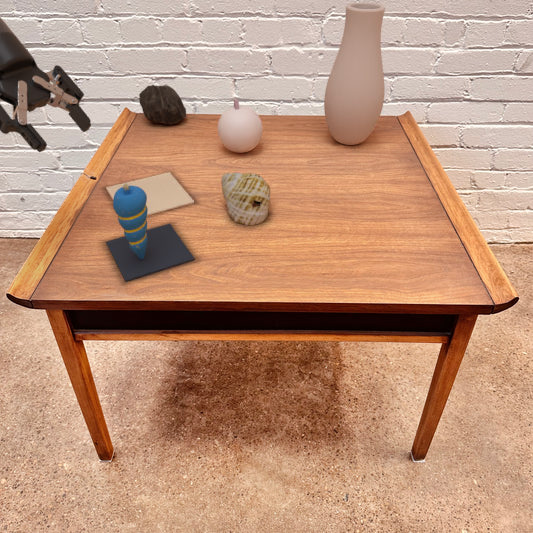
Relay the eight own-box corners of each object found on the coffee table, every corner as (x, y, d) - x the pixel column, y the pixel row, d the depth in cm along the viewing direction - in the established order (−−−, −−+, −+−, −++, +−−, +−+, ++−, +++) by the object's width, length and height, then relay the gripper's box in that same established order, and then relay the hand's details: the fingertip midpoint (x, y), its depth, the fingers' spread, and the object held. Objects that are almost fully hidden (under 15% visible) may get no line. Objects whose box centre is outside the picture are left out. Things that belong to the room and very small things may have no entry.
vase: (374, 130, 124) (395, 0, 105) (378, 154, 113) (402, 14, 94) (321, 127, 125) (332, -2, 106) (320, 151, 114) (332, 11, 95)
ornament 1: (160, 251, 83) (147, 173, 73) (152, 270, 79) (137, 190, 69) (131, 249, 83) (114, 171, 74) (121, 267, 79) (102, 188, 70)
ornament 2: (211, 147, 115) (207, 98, 108) (246, 137, 120) (245, 89, 112) (234, 164, 109) (233, 112, 101) (270, 152, 114) (271, 102, 106)
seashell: (265, 227, 88) (240, 180, 84) (226, 235, 94) (201, 191, 89) (287, 199, 95) (265, 154, 90) (249, 207, 101) (227, 165, 96)
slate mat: (125, 282, 77) (125, 280, 77) (106, 243, 85) (105, 241, 85) (194, 260, 82) (194, 258, 81) (170, 225, 90) (169, 223, 90)
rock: (189, 124, 124) (179, 84, 118) (146, 133, 123) (134, 94, 117) (187, 113, 132) (177, 75, 126) (146, 122, 131) (135, 84, 126)
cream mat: (125, 221, 90) (125, 220, 90) (106, 188, 100) (105, 187, 100) (194, 203, 96) (194, 201, 96) (169, 173, 105) (169, 171, 105)
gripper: (-50, 42, 63) (34, 143, 66) (39, 20, 73) (109, 110, 75) (-57, 76, 69) (21, 168, 71) (27, 52, 78) (93, 134, 81)
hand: (66, 138), depth 73 cm, fingers open, 8 cm apart
